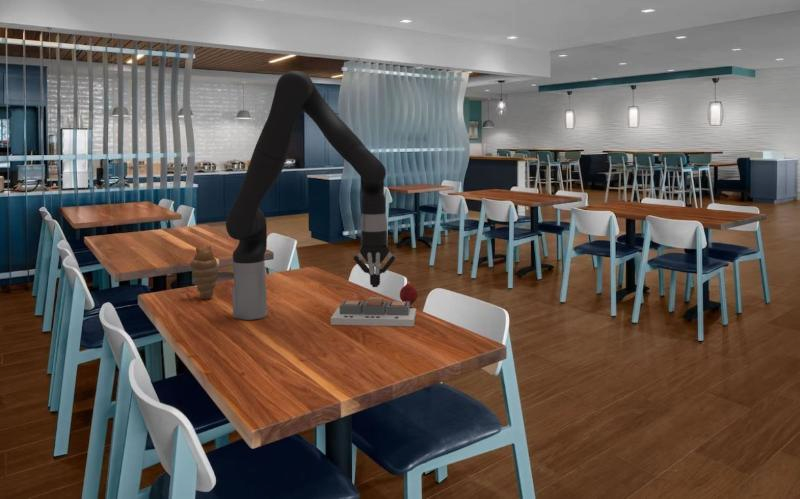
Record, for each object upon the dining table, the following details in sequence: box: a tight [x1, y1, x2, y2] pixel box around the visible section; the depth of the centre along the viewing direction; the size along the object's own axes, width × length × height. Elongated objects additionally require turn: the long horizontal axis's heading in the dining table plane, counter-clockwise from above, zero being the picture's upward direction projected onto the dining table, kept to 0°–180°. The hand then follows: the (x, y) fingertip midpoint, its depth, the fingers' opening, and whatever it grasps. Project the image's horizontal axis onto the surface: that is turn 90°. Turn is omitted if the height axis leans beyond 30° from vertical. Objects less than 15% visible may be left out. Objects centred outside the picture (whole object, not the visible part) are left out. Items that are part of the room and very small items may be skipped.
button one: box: [391, 302, 406, 306], centre depth 180 cm, size 4×4×2 cm
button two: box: [344, 300, 361, 306], centre depth 181 cm, size 4×4×2 cm
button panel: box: [330, 299, 417, 327], centre depth 179 cm, size 24×12×4 cm, turn 85°
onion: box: [399, 281, 419, 306], centre depth 194 cm, size 6×6×8 cm
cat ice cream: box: [190, 245, 219, 300], centre depth 203 cm, size 9×8×18 cm
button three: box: [366, 296, 384, 306], centre depth 180 cm, size 4×4×2 cm
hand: (375, 286), depth 179 cm, fingers closed
